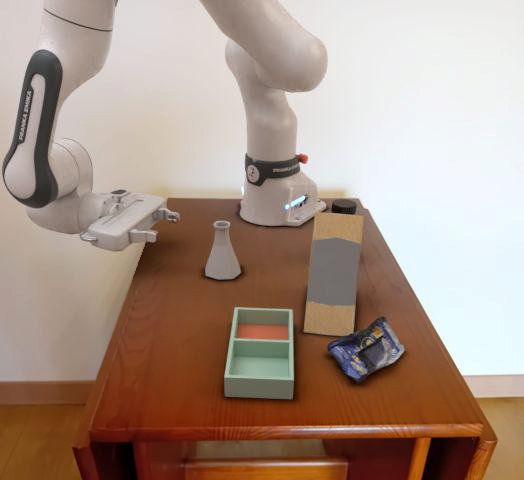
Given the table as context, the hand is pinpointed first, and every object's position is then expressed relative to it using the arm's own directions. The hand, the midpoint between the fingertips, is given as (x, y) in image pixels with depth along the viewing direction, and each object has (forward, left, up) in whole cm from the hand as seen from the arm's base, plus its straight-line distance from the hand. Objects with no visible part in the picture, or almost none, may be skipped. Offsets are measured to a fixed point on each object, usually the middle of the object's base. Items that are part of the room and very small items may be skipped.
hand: (167, 227), depth 104 cm
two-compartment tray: (+10, +35, -8) cm, 37 cm away
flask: (-5, +10, -8) cm, 14 cm away
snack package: (-1, +47, -8) cm, 48 cm away
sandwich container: (-9, +34, -8) cm, 36 cm away
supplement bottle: (-26, +22, -8) cm, 35 cm away
